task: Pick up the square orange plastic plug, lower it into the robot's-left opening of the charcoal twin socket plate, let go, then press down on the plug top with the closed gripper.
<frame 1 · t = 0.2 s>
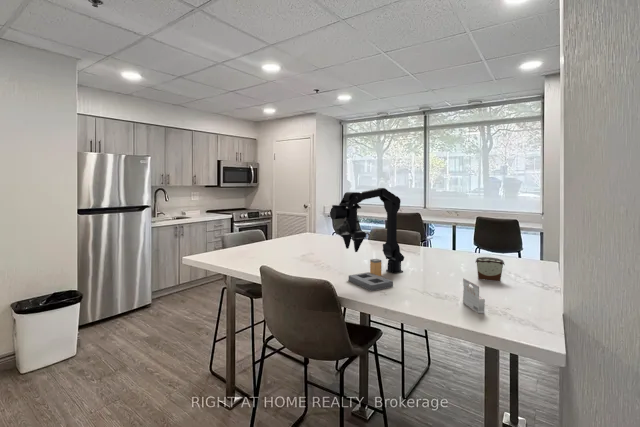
hand: (351, 250, 160), 14 cm above the table, tool pointing down, fingers open, 9 cm apart
food container: (488, 279, 158), on the table
socket plate: (370, 283, 153), on the table
plug: (375, 275, 166), on the table
ink cartridge box: (473, 308, 122), on the table
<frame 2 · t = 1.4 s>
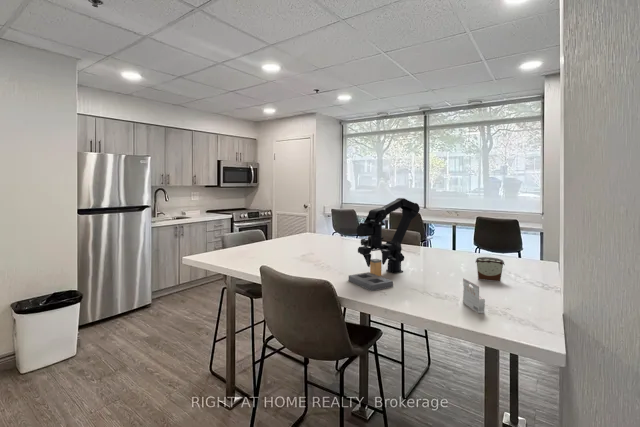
hand: (376, 265, 166), 5 cm above the table, tool pointing down, fingers open, 9 cm apart
nothing on the table moved.
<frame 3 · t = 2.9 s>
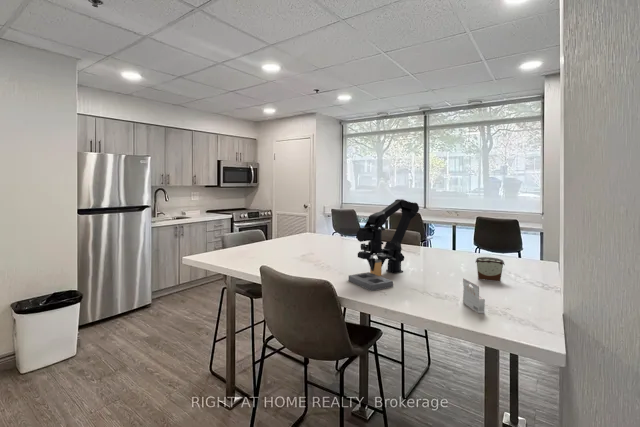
hand: (375, 270, 166), 3 cm above the table, tool pointing down, fingers closed on plug, 4 cm apart
plug: (375, 275, 166), on the table, touching gripper
everything else where it was.
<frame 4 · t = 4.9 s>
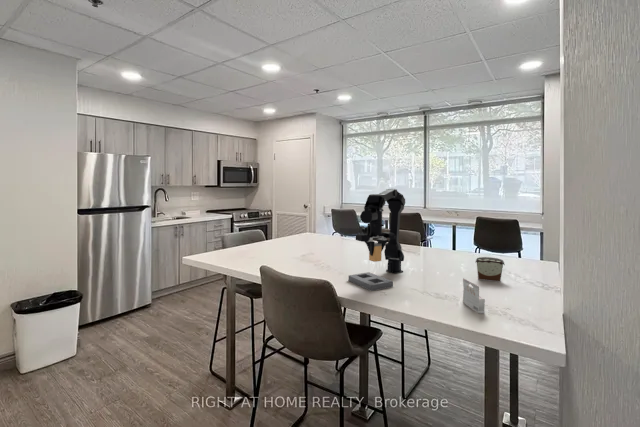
hand: (375, 255, 153), 13 cm above the table, tool pointing down, fingers closed on plug, 4 cm apart
plug: (375, 260, 153), point 11 cm above the table, touching gripper
everything else where it was.
when the fingers open (3 cm above the table, at t = 7.4 s): plug drops 1 cm, resting in socket plate.
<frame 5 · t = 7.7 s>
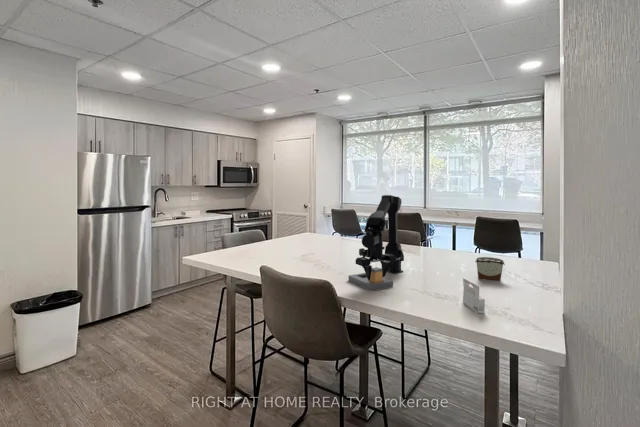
hand: (376, 278, 148), 3 cm above the table, tool pointing down, fingers open, 8 cm apart
plug: (376, 286, 149), resting in socket plate
everything else where it was.
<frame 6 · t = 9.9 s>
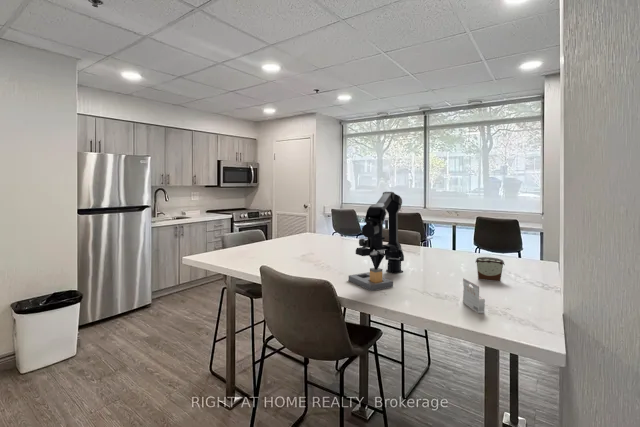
hand: (376, 268, 148), 8 cm above the table, tool pointing down, fingers closed, pressing on plug
plug: (376, 286, 149), resting in socket plate, touching gripper
everything else where it was.
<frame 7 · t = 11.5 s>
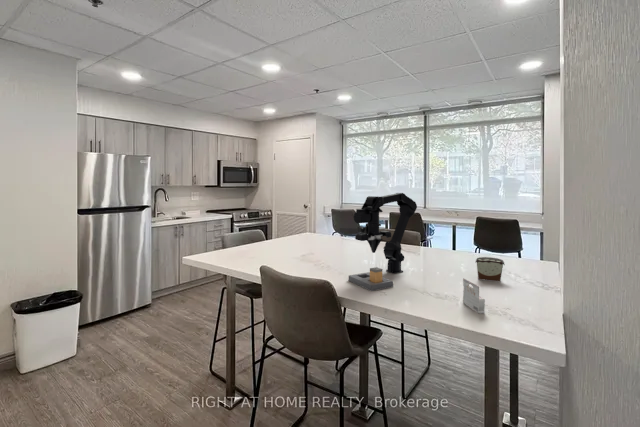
hand: (373, 252, 165), 12 cm above the table, tool pointing down, fingers closed
plug: (376, 286, 149), resting in socket plate
everything else where it was.
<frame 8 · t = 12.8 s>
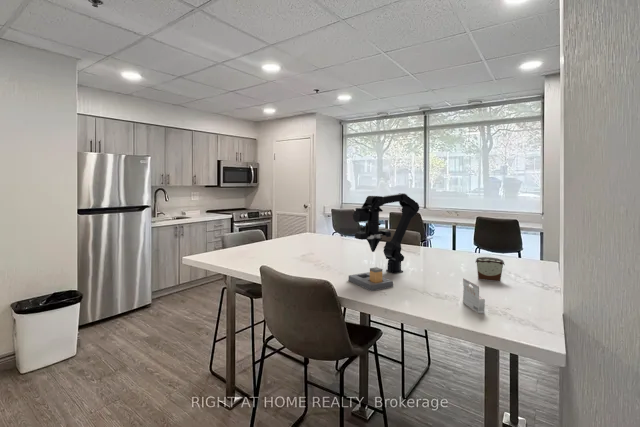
hand: (373, 251, 166), 12 cm above the table, tool pointing down, fingers closed
nothing on the table moved.
at the end: plug 0.1 cm from the target spot on the socket plate, point 0.0 cm above the socket plate's base; plug tilted 0°; the gripper is holding nothing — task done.
